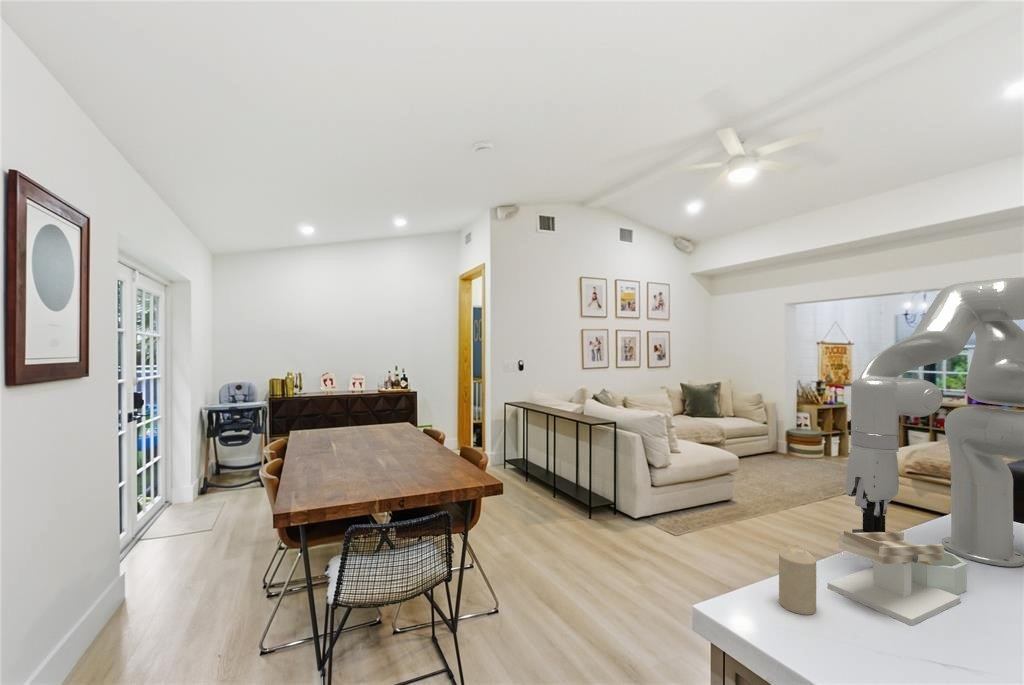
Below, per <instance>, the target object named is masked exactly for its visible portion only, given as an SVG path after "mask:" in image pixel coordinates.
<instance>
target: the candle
mask: <svg viewBox="0 0 1024 685" xmlns="http://www.w3.org/2000/svg"><path fill="white" fill-rule="evenodd" d="M778 602H779V604H780V606H782V608H784V609H785V610H786V611H787V610H788V611H790V612H793V613H795V614H799V615H806V616H808V615H814V614H815V613H816V612H817V559H816V558H815V557H814V556H813V555H812V553H811V552H809V551H807V550H806V549H805V548H803V547H802V546H800V545H799V544H789V545H788V546H786V547H784V548H783V549H781V550H780V551H779V552H778Z"/></svg>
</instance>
